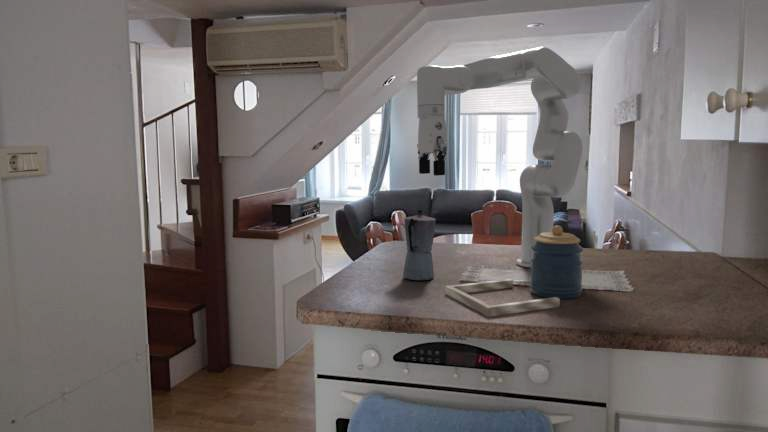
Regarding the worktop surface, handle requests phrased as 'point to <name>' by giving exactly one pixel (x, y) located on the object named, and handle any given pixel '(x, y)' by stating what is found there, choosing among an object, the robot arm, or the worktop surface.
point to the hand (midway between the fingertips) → (431, 174)
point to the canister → (556, 265)
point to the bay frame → (500, 309)
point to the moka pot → (419, 247)
